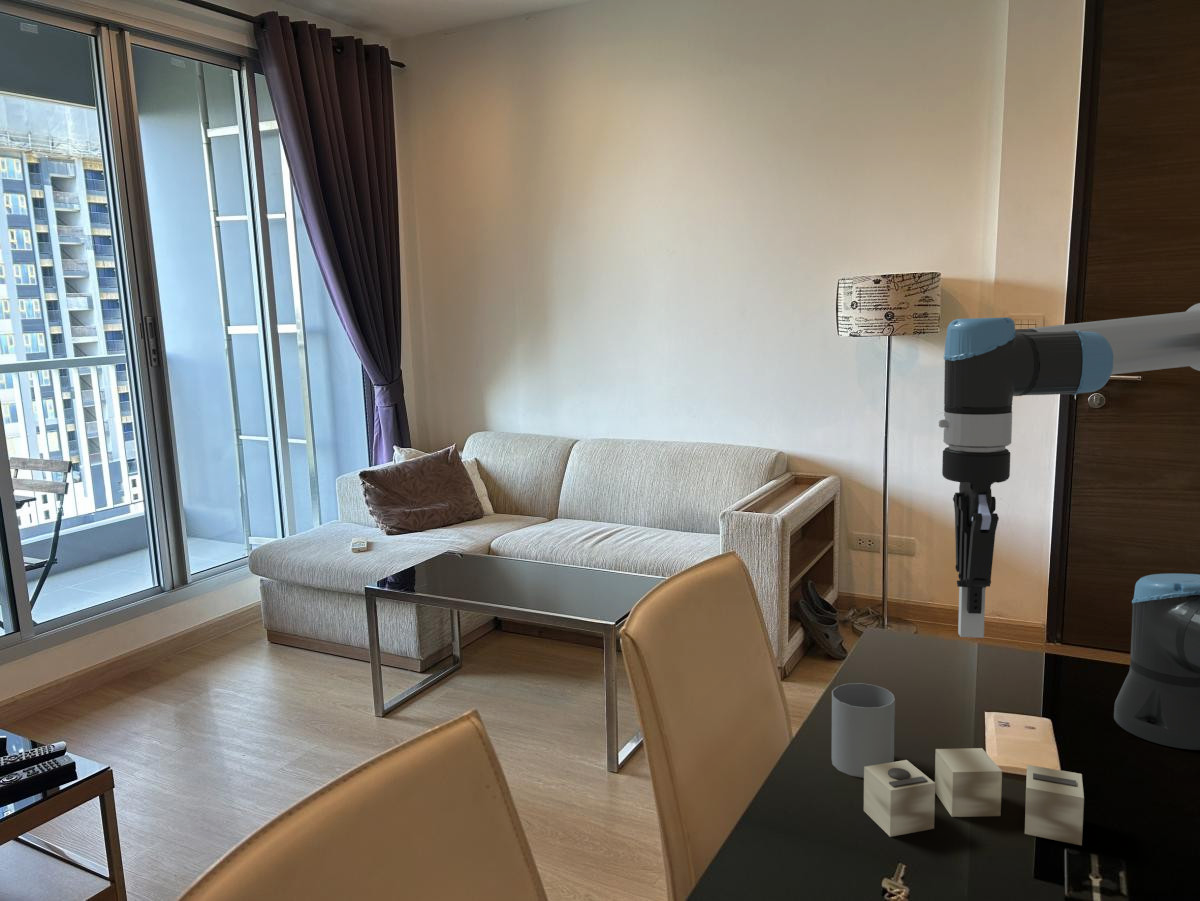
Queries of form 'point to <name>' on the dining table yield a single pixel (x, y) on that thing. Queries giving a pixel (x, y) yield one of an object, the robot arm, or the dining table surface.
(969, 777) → the plain block
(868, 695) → the cup
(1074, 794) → the striped block
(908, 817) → the striped block
